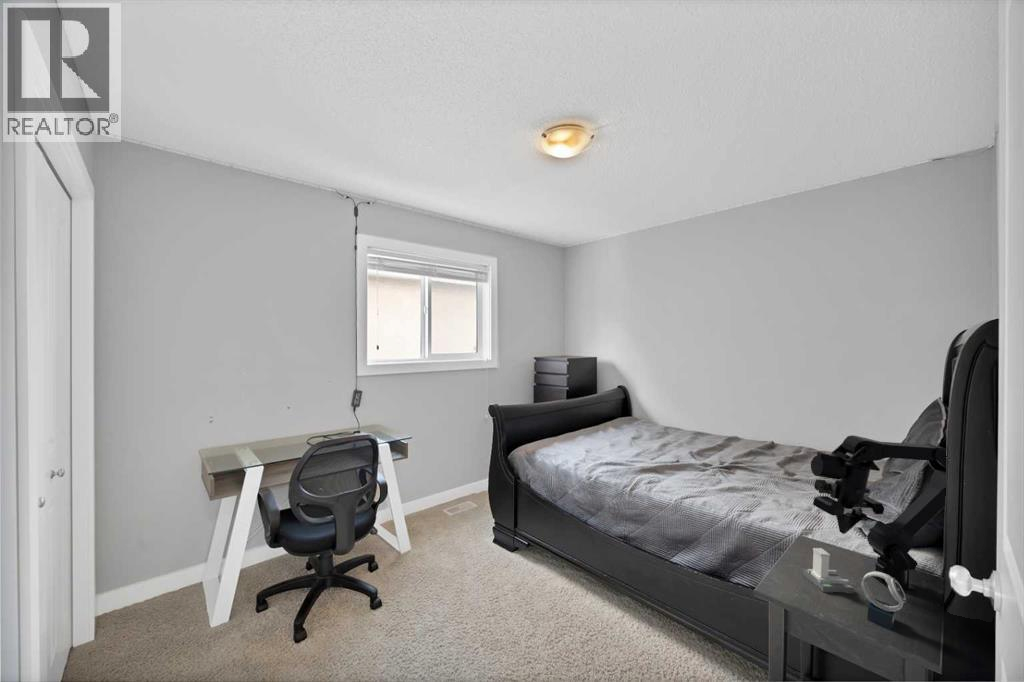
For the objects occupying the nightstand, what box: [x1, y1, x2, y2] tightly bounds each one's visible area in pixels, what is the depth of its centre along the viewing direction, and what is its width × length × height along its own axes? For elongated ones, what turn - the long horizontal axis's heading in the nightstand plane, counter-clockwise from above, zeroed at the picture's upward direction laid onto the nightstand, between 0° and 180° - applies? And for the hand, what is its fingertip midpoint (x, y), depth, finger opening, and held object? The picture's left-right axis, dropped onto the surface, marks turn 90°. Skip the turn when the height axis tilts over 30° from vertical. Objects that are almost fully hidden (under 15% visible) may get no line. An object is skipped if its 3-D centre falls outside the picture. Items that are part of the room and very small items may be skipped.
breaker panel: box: [802, 568, 855, 594], centre depth 115 cm, size 8×8×2 cm
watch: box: [861, 570, 907, 631], centre depth 100 cm, size 6×8×11 cm
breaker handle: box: [811, 547, 831, 580], centre depth 115 cm, size 3×3×7 cm
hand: (842, 532), depth 119 cm, fingers closed
